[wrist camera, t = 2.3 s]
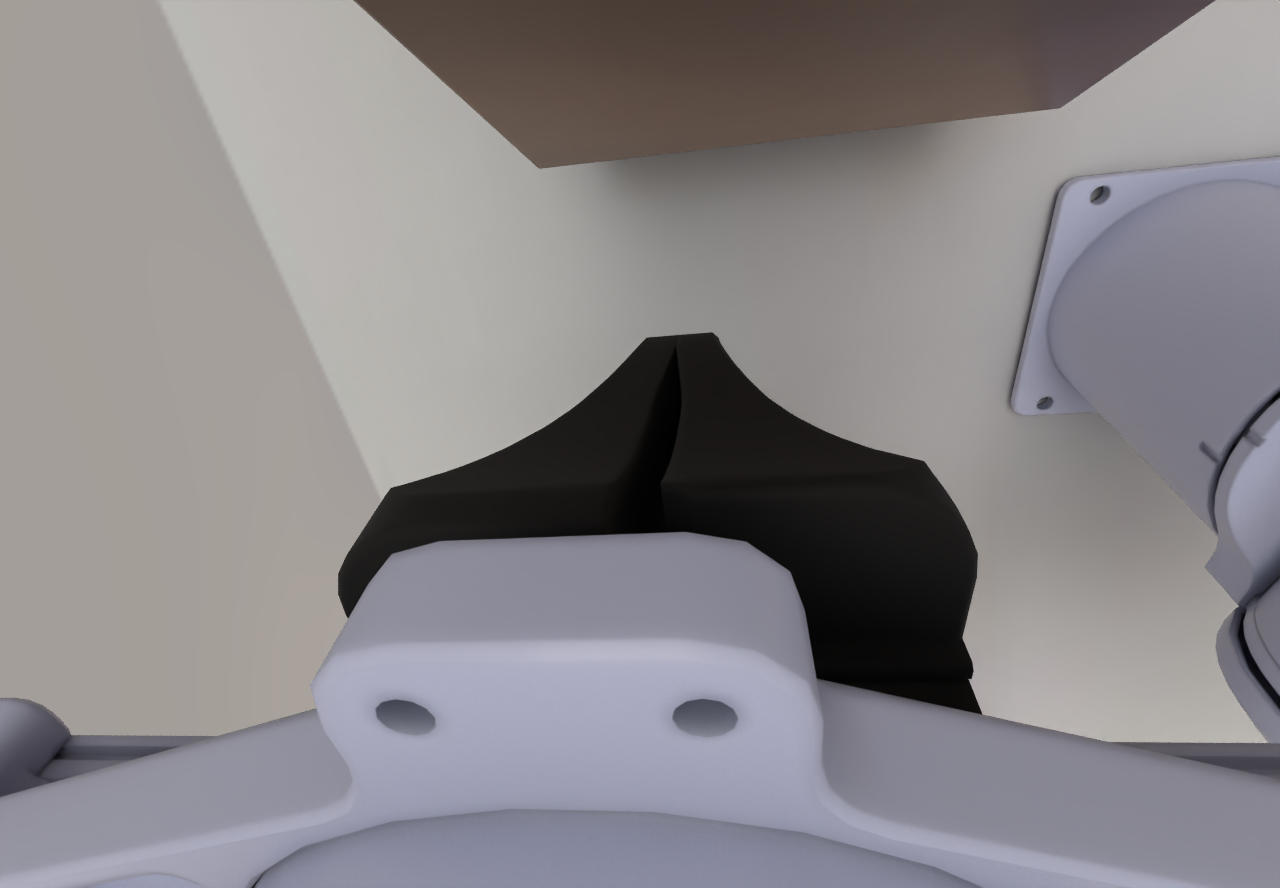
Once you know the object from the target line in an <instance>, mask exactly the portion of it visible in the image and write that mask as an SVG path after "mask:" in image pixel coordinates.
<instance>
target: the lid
mask: <svg viewBox="0 0 1280 888" xmlns="http://www.w3.org/2000/svg"><path fill="white" fill-rule="evenodd" d="M354 1H355V2H356V3H357V4H358V5H359V6H360V7H361V8H363V9H364V10H365V11H366V12H367V13H368V14H369V15H370V16H371V17H372V18H374V19H375V20H376V21H377V22H378V23H379V24H380V25H381V26H382V27H383V28H385V29H386V30H387V31H388V32H389V33H390V34H391V35H392V36H393V37H395V38H396V39H397V40H398V41H399V42H400V43H401V44H402V45H403V46H404V47H406V48H407V49H408V50H409V51H410V52H411V53H412V54H413V55H414V56H415V57H417V58H418V59H419V60H420V61H421V62H422V63H423V64H424V65H425V66H426V67H428V68H429V69H430V70H431V71H432V72H433V73H434V74H435V75H436V76H437V77H439V78H440V79H441V80H442V81H443V82H444V83H445V84H446V85H447V86H448V87H450V88H451V89H452V90H453V91H454V92H455V93H456V94H457V95H458V96H459V97H461V98H462V99H463V100H464V101H465V102H466V103H467V104H468V105H469V106H471V107H472V108H473V109H474V110H475V111H476V112H477V113H478V114H479V115H480V116H482V117H483V118H484V119H485V120H486V121H487V122H488V123H489V124H490V125H491V126H493V127H494V128H495V129H496V130H497V131H498V132H499V133H500V134H501V135H502V136H504V137H505V138H506V139H507V140H508V141H509V142H510V143H511V144H512V145H513V146H515V147H516V148H517V149H518V150H519V151H520V152H521V153H522V154H523V155H524V156H526V157H527V158H528V159H529V160H530V161H531V162H532V163H533V164H534V165H536V166H537V167H538V168H540V169H541V168H549V167H558V166H567V165H575V164H584V163H592V162H601V161H610V160H618V159H627V158H635V157H644V156H653V155H661V154H670V153H678V152H687V151H696V150H704V149H713V148H721V147H730V146H739V145H747V144H756V143H764V142H773V141H782V140H790V139H799V138H808V137H816V136H825V135H833V134H842V133H851V132H859V131H868V130H876V129H885V128H894V127H902V126H911V125H919V124H928V123H937V122H945V121H954V120H962V119H971V118H980V117H988V116H997V115H1005V114H1014V113H1023V112H1031V111H1040V110H1048V109H1057V108H1061V107H1063V106H1064V105H1065V104H1067V103H1068V102H1070V101H1071V100H1073V99H1074V98H1076V97H1077V96H1078V95H1080V94H1081V93H1083V92H1084V91H1086V90H1087V89H1089V88H1090V87H1091V86H1093V85H1094V84H1096V83H1097V82H1099V81H1100V80H1101V79H1103V78H1104V77H1106V76H1107V75H1109V74H1110V73H1112V72H1113V71H1114V70H1116V69H1117V68H1119V67H1120V66H1122V65H1123V64H1124V63H1126V62H1127V61H1129V60H1130V59H1132V58H1133V57H1135V56H1136V55H1137V54H1139V53H1140V52H1142V51H1143V50H1145V49H1146V48H1148V47H1149V46H1150V45H1152V44H1153V43H1155V42H1156V41H1158V40H1159V39H1160V38H1162V37H1163V36H1165V35H1166V34H1168V33H1169V32H1171V31H1172V30H1173V29H1175V28H1176V27H1178V26H1179V25H1181V24H1182V23H1183V22H1185V21H1186V20H1188V19H1189V18H1191V17H1192V16H1194V15H1195V14H1196V13H1198V12H1199V11H1201V10H1202V9H1204V8H1205V7H1206V6H1208V5H1209V4H1211V3H1212V2H1214V1H1215V0H354Z"/></svg>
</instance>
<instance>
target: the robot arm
mask: <svg viewBox="0 0 1280 888" xmlns="http://www.w3.org/2000/svg"><path fill="white" fill-rule="evenodd" d="M1100 186H1103V188H1104V191H1103V193H1102V195H1101V196H1100V197H1099V198H1098V199H1097V200H1095V201H1090V196H1091V194H1092V192H1093V191H1094V190H1095V189H1096V188H1097V187H1100ZM1044 397H1048V399H1047V401H1045V402H1044V403H1042V404H1037V403H1038V401H1039V400H1040V399H1042V398H1044ZM1011 406H1012V408H1013V409H1014V410H1015V412H1016V413H1018V414H1019V415H1024V416H1030V415H1049V414H1068V413H1087V412H1098V413H1099V414H1100V415H1101V416H1102V417H1103V418H1104V419H1105V420H1106V421H1107V422H1108V423H1109V424H1110V425H1111V426H1112V427H1113V428H1114V429H1115V430H1116V431H1117V432H1118V433H1119V434H1120V435H1121V437H1122V438H1123V439H1124V440H1125V441H1126V442H1127V443H1128V444H1129V445H1130V446H1131V447H1132V448H1133V449H1134V450H1135V451H1136V452H1137V453H1138V454H1139V455H1140V456H1141V457H1142V458H1143V459H1144V460H1145V461H1146V463H1147V464H1148V465H1149V466H1150V467H1151V468H1152V469H1153V470H1154V471H1155V472H1156V473H1157V474H1158V475H1159V476H1160V477H1161V478H1162V479H1163V480H1164V481H1165V482H1166V483H1167V484H1168V485H1169V486H1170V488H1171V489H1172V490H1173V491H1174V492H1175V493H1176V494H1177V495H1178V496H1179V497H1180V498H1181V499H1182V500H1183V501H1184V502H1185V503H1186V504H1187V505H1188V506H1189V507H1190V508H1191V509H1192V510H1193V511H1194V512H1195V514H1196V515H1197V516H1198V517H1199V518H1200V519H1201V520H1202V521H1203V522H1204V523H1205V524H1206V525H1207V526H1208V527H1209V528H1210V529H1211V530H1212V531H1213V532H1214V533H1215V534H1216V535H1217V536H1218V537H1219V538H1218V544H1217V547H1216V550H1215V552H1214V554H1213V555H1212V557H1211V558H1210V560H1209V561H1208V562H1207V564H1206V566H1205V568H1206V569H1207V571H1208V572H1209V573H1210V574H1211V575H1212V576H1213V577H1214V578H1215V580H1216V581H1217V582H1218V583H1219V584H1220V585H1221V586H1222V587H1223V589H1224V590H1225V591H1226V592H1227V593H1228V594H1229V595H1230V596H1231V598H1232V599H1233V600H1234V601H1235V602H1236V603H1237V604H1238V605H1239V607H1238V608H1236V609H1235V610H1234V611H1233V612H1232V613H1231V614H1230V615H1229V616H1228V617H1227V618H1226V619H1225V620H1224V622H1223V623H1222V625H1221V627H1220V629H1219V631H1218V633H1217V639H1216V652H1217V657H1218V662H1219V665H1220V668H1221V670H1222V672H1223V675H1224V677H1225V679H1226V682H1227V684H1228V686H1229V687H1230V689H1231V690H1232V692H1233V694H1234V695H1235V697H1236V699H1237V700H1238V702H1239V703H1240V705H1241V707H1242V708H1243V709H1244V710H1245V712H1246V713H1247V715H1248V716H1249V718H1250V719H1251V721H1252V722H1253V723H1254V725H1255V726H1256V728H1257V729H1258V730H1259V732H1260V733H1261V734H1262V735H1263V737H1264V738H1265V739H1266V740H1267V741H1268V743H1155V742H1106V741H1101V740H1097V739H1092V738H1087V737H1083V736H1078V735H1074V734H1069V733H1064V732H1060V731H1055V730H1050V729H1046V728H1041V727H1037V726H1032V725H1027V724H1023V723H1018V722H1014V721H1009V720H1004V719H1000V718H995V717H991V716H986V715H982V712H981V710H980V707H979V705H978V702H977V700H976V697H975V695H974V692H973V690H972V687H971V685H970V682H969V680H968V679H972V675H973V664H972V660H971V658H970V656H969V653H968V651H967V648H966V646H965V643H964V641H963V639H962V637H963V633H964V628H965V624H966V620H967V616H968V612H969V608H970V603H971V599H972V595H973V591H974V587H975V583H976V578H977V560H978V553H977V550H976V548H975V545H974V542H973V540H972V537H971V534H970V532H969V530H968V528H967V526H966V524H965V522H964V520H963V518H962V516H961V514H960V512H959V510H958V509H957V507H956V505H955V504H954V502H953V501H952V499H951V498H950V496H949V495H948V493H947V492H946V490H945V489H944V487H943V486H942V485H941V483H940V482H939V481H938V479H937V478H936V477H935V476H934V474H933V473H932V471H931V470H930V469H929V467H928V466H927V464H926V463H925V462H924V461H921V460H917V459H913V458H909V457H904V456H900V455H896V454H892V453H888V452H884V451H879V450H875V449H872V448H868V447H865V446H862V445H860V444H857V443H854V442H851V441H848V440H845V439H842V438H840V437H837V436H835V435H833V434H830V433H828V432H825V431H823V430H821V429H819V428H817V427H815V426H813V425H811V424H809V423H807V422H805V421H803V420H801V419H800V418H798V417H796V416H794V415H793V414H791V413H789V412H788V411H786V410H785V409H783V408H782V407H781V406H779V405H778V404H776V403H775V402H773V401H772V400H770V399H769V398H768V397H767V396H766V395H764V394H763V393H762V392H761V391H760V390H759V389H758V388H757V387H756V386H755V385H754V384H753V383H752V382H751V381H750V380H749V379H748V378H747V377H746V376H745V375H744V374H743V372H742V371H741V370H740V369H739V368H738V367H737V366H736V364H735V363H734V362H733V361H732V359H731V358H730V357H729V355H728V354H727V352H726V351H725V350H724V348H723V346H722V345H721V343H720V341H719V338H718V337H717V336H716V335H715V334H714V333H699V334H687V335H674V336H661V337H649V338H646V339H645V340H644V341H643V342H642V343H641V344H640V345H639V346H638V347H637V348H636V350H635V351H634V352H633V353H632V354H631V355H630V356H629V357H628V358H627V359H626V360H625V361H624V362H623V363H622V364H621V365H620V366H619V368H618V369H617V370H616V371H615V372H614V373H613V374H612V375H611V376H610V377H609V378H608V379H606V380H605V381H604V382H603V383H602V384H601V385H600V386H599V387H597V388H596V389H595V390H594V391H593V392H592V393H591V394H589V395H588V396H587V397H586V398H585V399H584V400H583V401H581V402H580V403H579V404H578V405H576V406H575V407H574V408H572V409H571V410H570V411H568V412H567V413H565V414H564V415H562V416H561V417H559V418H558V419H556V420H555V421H553V422H552V423H550V424H549V425H547V426H546V427H544V428H542V429H541V430H539V431H537V432H535V433H533V434H531V435H529V436H528V437H526V438H524V439H522V440H520V441H518V442H516V443H514V444H513V445H511V446H509V447H507V448H505V449H503V450H500V451H498V452H496V453H494V454H491V455H489V456H487V457H485V458H482V459H480V460H477V461H474V462H472V463H469V464H467V465H464V466H462V467H459V468H456V469H453V470H450V471H447V472H444V473H441V474H437V475H434V476H431V477H428V478H424V479H421V480H418V481H414V482H411V483H408V484H404V485H401V486H397V487H393V488H391V489H390V490H389V491H388V493H387V494H386V496H385V497H384V499H383V500H382V502H381V503H380V505H379V506H378V508H377V509H376V511H375V513H374V514H373V516H372V517H371V519H370V520H369V522H368V523H367V525H366V526H365V528H364V529H363V531H362V532H361V534H360V536H359V537H358V539H357V540H356V542H355V543H354V545H353V546H352V548H351V550H350V551H349V552H348V554H347V556H346V558H345V560H344V562H343V565H342V567H341V569H340V571H339V574H338V595H339V597H340V600H341V603H342V605H343V608H344V611H345V614H346V616H347V617H348V620H347V622H346V623H345V625H344V627H343V629H342V630H341V632H340V634H339V636H338V637H337V639H336V641H335V642H334V644H333V646H332V648H331V649H330V651H329V653H328V655H327V656H326V658H325V660H324V662H323V663H322V665H321V667H320V668H319V670H318V672H317V674H316V675H315V677H314V679H313V680H312V682H311V684H310V686H311V690H312V694H313V698H314V701H315V705H316V709H312V710H309V711H305V712H301V713H298V714H294V715H291V716H287V717H284V718H280V719H277V720H273V721H269V722H266V723H262V724H259V725H256V726H252V727H248V728H245V729H241V730H237V731H234V732H231V733H227V734H223V735H220V736H112V735H111V736H110V735H109V736H108V735H107V736H106V735H71V734H70V731H69V729H68V728H67V726H66V725H64V723H63V722H62V721H61V719H59V718H58V717H57V716H56V715H55V714H54V713H53V712H52V711H50V710H49V709H47V708H46V707H44V706H43V705H40V704H38V703H35V702H33V701H30V700H26V699H19V698H0V888H1280V156H1277V157H1267V158H1257V159H1247V160H1237V161H1228V162H1218V163H1208V164H1198V165H1188V166H1178V167H1168V168H1159V169H1149V170H1139V171H1129V172H1119V173H1109V174H1100V175H1090V176H1080V177H1077V178H1073V179H1071V180H1070V181H1068V182H1067V183H1065V185H1064V186H1063V187H1062V188H1061V189H1060V192H1059V194H1058V196H1057V201H1056V205H1055V209H1054V214H1053V218H1052V222H1051V227H1050V231H1049V236H1048V240H1047V244H1046V249H1045V253H1044V257H1043V262H1042V266H1041V270H1040V275H1039V279H1038V283H1037V288H1036V292H1035V296H1034V301H1033V305H1032V309H1031V314H1030V318H1029V322H1028V327H1027V331H1026V336H1025V340H1024V344H1023V349H1022V353H1021V357H1020V362H1019V366H1018V370H1017V375H1016V379H1015V383H1014V388H1013V392H1012V396H1011Z"/></svg>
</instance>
